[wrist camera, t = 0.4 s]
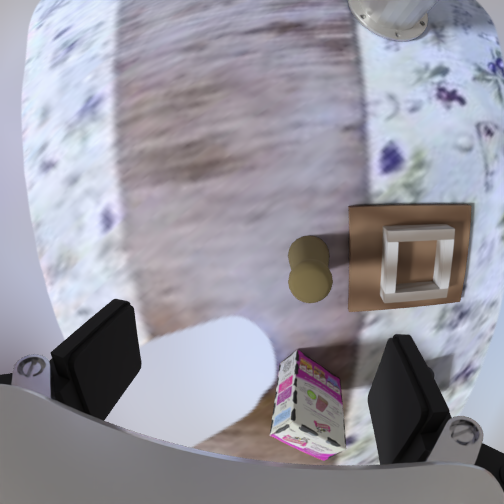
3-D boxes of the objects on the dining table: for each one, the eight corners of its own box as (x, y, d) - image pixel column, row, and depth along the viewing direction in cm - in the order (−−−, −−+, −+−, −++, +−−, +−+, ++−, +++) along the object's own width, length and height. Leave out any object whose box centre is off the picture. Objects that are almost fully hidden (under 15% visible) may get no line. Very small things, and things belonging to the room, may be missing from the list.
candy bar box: (277, 364, 50) (267, 435, 35) (297, 347, 49) (292, 420, 33) (321, 393, 51) (323, 463, 36) (341, 379, 50) (348, 449, 34)
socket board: (348, 206, 40) (353, 211, 36) (467, 204, 37) (481, 209, 33) (348, 308, 45) (351, 322, 41) (457, 298, 41) (467, 310, 38)
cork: (313, 227, 42) (318, 251, 32) (337, 260, 43) (347, 293, 33) (279, 251, 44) (273, 281, 34) (303, 282, 45) (303, 319, 34)
